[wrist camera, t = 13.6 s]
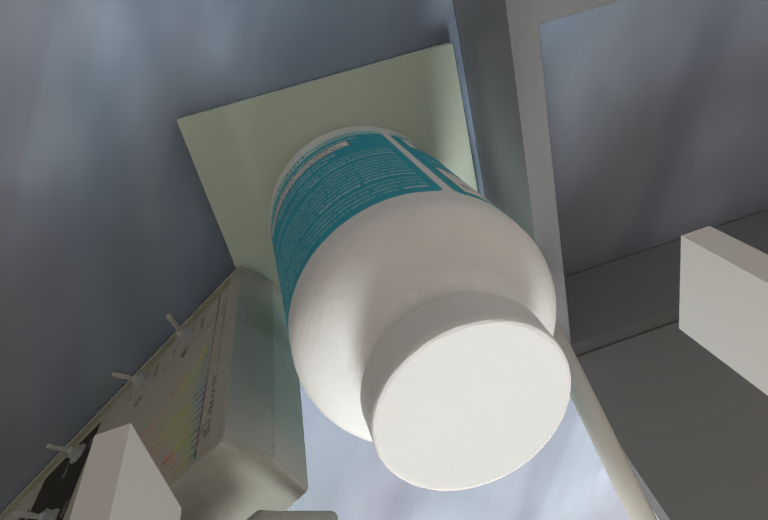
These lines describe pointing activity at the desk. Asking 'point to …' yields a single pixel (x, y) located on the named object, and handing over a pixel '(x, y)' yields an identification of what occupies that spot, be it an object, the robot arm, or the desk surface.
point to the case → (616, 302)
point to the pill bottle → (416, 310)
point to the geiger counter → (204, 416)
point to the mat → (311, 120)
